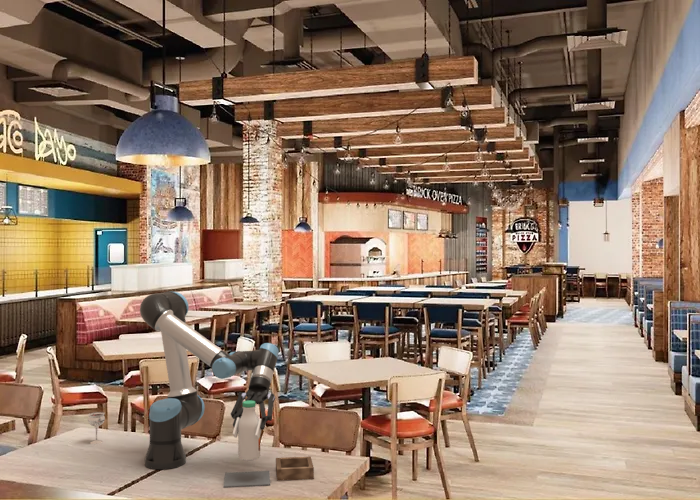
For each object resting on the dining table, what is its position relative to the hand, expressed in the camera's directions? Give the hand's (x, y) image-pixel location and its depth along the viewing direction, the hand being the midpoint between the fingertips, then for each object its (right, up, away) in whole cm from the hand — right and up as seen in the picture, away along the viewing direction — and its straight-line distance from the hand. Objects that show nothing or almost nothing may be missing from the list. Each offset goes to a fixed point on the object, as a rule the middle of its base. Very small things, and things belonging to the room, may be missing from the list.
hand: (245, 436), depth 241 cm
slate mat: (0, -16, +4) cm, 17 cm away
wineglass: (-70, -16, +48) cm, 86 cm away
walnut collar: (+16, -16, +10) cm, 25 cm away
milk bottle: (+1, -9, +3) cm, 9 cm away
